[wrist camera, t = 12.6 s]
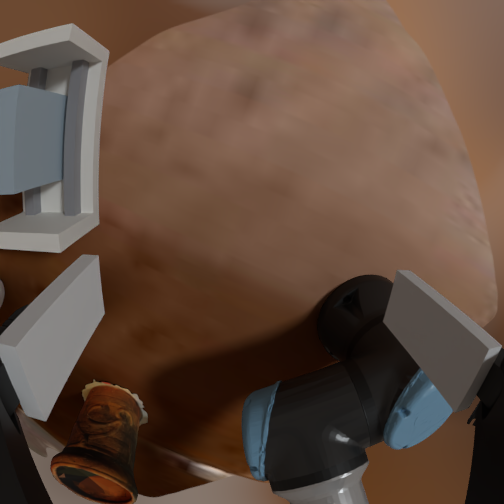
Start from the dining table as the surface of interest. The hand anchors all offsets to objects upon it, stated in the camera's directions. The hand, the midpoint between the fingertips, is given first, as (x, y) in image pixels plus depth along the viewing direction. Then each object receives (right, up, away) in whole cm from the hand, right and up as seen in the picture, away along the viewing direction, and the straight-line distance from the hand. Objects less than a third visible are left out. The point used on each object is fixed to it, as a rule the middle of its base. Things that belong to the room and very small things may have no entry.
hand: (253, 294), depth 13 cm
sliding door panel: (-26, +17, +20) cm, 37 cm away
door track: (-26, +17, +22) cm, 38 cm away
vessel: (-26, -27, +38) cm, 53 cm away
